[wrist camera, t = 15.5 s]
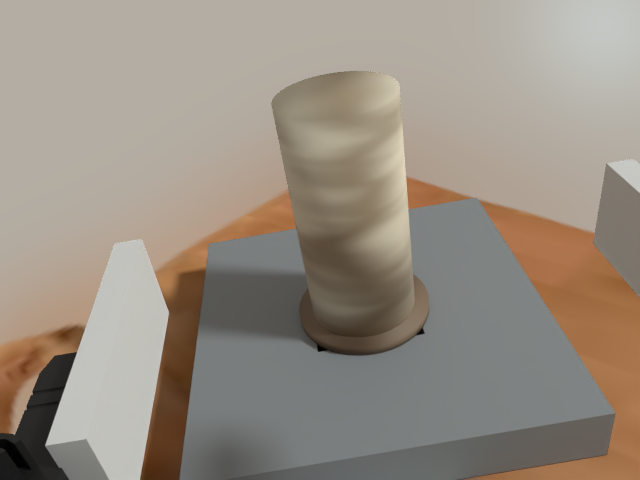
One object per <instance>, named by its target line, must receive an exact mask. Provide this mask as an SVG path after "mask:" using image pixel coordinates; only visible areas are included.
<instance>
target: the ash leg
mask: <svg viewBox="0 0 640 480" xmlns="http://www.w3.org/2000/svg"><path fill="white" fill-rule="evenodd" d="M272 109H273V114H274V119H275V124H276V129H277V134H278V139H279V144H280V149H281V154H282V159H283V164H284V169H285V173H286V179H287V184H288V189H289V194H290V199H291V204H292V209H293V214H294V219H295V224H296V229H297V234H298V239H299V244H300V249H301V254H302V259H303V264H304V269H305V274H306V279H307V284H308V288H307V290H306V291H305V293H304V294H303V296H302V299H301V301H300V306H299V313H300V318H301V323H302V326H303V329H304V331H305V333H306V334H307V336H308V337H309V338H310V339H311V340H312V341H313V342H315V343H316V344H317V345H319V346H321V347H322V348H324V349H327V350H329V351H331V352H335V353H338V354H344V355H353V356H366V355H374V354H379V353H383V352H387V351H390V350H393V349H395V348H397V347H400V346H401V345H403V344H405V343H407V342H408V341H410V340H411V339H412V338H414V337H415V336H416V335H417V334H418V333H419V332H420V330H421V329H422V328H423V327H424V325H425V323H426V321H427V318H428V315H429V296H428V292H427V289H426V287H425V285H424V284H423V283H422V281H421V280H420V279H419V278H418V277H417V276H415V275H414V274H413V268H412V254H411V240H410V226H409V212H408V198H407V184H406V170H405V156H404V142H403V129H402V114H401V102H400V87H399V83H398V82H397V81H396V80H395V79H394V78H392V77H390V76H388V75H385V74H381V73H376V72H367V71H350V72H349V71H348V72H337V73H331V74H325V75H320V76H316V77H312V78H308V79H305V80H302V81H300V82H297V83H295V84H292V85H290V86H288V87H286V88H285V89H283V90H282V91H280V92H279V93H278V94H277V95H276V96H275V97H274V98H273V100H272Z"/></svg>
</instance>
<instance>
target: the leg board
mask: <svg viewBox="0 0 640 480" xmlns="http://www.w3.org/2000/svg"><path fill="white" fill-rule="evenodd" d="M408 212H409V226H410V240H411V254H412V268H413V274H414V275H415V276H417V277H418V278H419V279H420V280H421V281H422V283H423V284H424V285H425V287H426V289H427V292H428V296H429V315H428V318H427V321H426V323H425V325H424V327H423V328H422V329H421V330H420V332H419V333H418V334H417V335H416V336H415V337H414V338H412V339H411V340H410V341H408V342H407V343H405V344H403V345H401V346H400V347H397V348H395V349H393V350H390V351H387V352H383V353H379V354H374V355H366V356H353V355H344V354H338V353H335V352H331V351H329V350H327V351H320V346H319V345H317V344H316V343H315V342H313V341H312V340H311V339H310V338H309V337H308V336H307V334H306V333H305V331H304V329H303V326H302V323H301V318H300V313H299V306H300V301H301V299H302V296H303V294H304V293H305V291H306V290H307V288H308V284H307V279H306V274H305V269H304V264H303V259H302V254H301V249H300V244H299V239H298V234H297V229H292V230H286V231H281V232H275V233H269V234H263V235H257V236H251V237H246V238H240V239H234V240H228V241H222V242H217V243H211V244H209V249H208V257H207V265H206V273H205V281H204V289H203V297H202V304H201V312H200V320H199V328H198V336H197V344H196V352H195V360H194V368H193V375H192V383H191V391H190V399H189V407H188V415H187V423H186V431H185V438H184V446H183V454H182V462H181V470H180V478H179V480H459V479H465V478H471V477H477V476H483V475H489V474H495V473H500V472H506V471H512V470H518V469H524V468H530V467H536V466H542V465H548V464H554V463H560V462H566V461H572V460H578V459H584V458H589V457H595V456H601V455H607V452H608V448H609V443H610V438H611V433H612V428H613V423H614V418H615V412H614V410H613V409H612V407H611V405H610V404H609V402H608V401H607V399H606V398H605V396H604V395H603V393H602V391H601V390H600V388H599V387H598V385H597V384H596V382H595V381H594V379H593V377H592V376H591V374H590V373H589V371H588V370H587V368H586V367H585V365H584V363H583V362H582V360H581V359H580V357H579V356H578V354H577V353H576V351H575V349H574V348H573V346H572V345H571V343H570V342H569V340H568V339H567V337H566V335H565V334H564V332H563V331H562V329H561V328H560V326H559V325H558V323H557V322H556V320H555V318H554V317H553V315H552V314H551V312H550V311H549V309H548V308H547V306H546V304H545V303H544V301H543V300H542V298H541V297H540V295H539V294H538V292H537V290H536V289H535V287H534V286H533V284H532V283H531V281H530V280H529V278H528V276H527V275H526V273H525V272H524V270H523V269H522V267H521V266H520V264H519V262H518V261H517V259H516V258H515V256H514V255H513V253H512V252H511V250H510V248H509V247H508V245H507V244H506V242H505V241H504V239H503V238H502V236H501V234H500V233H499V231H498V230H497V228H496V227H495V225H494V224H493V222H492V220H491V219H490V217H489V216H488V214H487V213H486V211H485V210H484V208H483V206H482V205H481V203H480V202H479V200H478V199H477V198H473V199H467V200H461V201H455V202H449V203H444V204H438V205H432V206H426V207H420V208H415V209H409V210H408Z"/></svg>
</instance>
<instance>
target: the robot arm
mask: <svg viewBox="0 0 640 480" xmlns="http://www.w3.org/2000/svg"><path fill="white" fill-rule="evenodd" d="M593 244H594V245H595V246H596V247H597V248H598V250H599V251H600V252H601V253H602V254H603V255H604V257H605V258H606V259H607V260H608V261H609V262H610V264H611V265H612V266H613V267H614V268H615V269H616V270H617V272H618V273H619V274H620V275H621V276H622V277H623V279H624V280H625V281H626V282H627V283H628V284H629V286H630V287H631V288H632V289H633V290H634V291H635V293H636V294H637V295H638V296H639V297H640V164H639V163H638V162H636V161H635V160H634V159H629V160H623V161H618V162H612V163H607V164H606V169H605V175H604V181H603V187H602V193H601V199H600V205H599V211H598V218H597V224H596V229H595V235H594V241H593ZM168 317H169V311H168V309H167V306H166V303H165V300H164V298H163V295H162V292H161V290H160V287H159V284H158V281H157V279H156V276H155V273H154V271H153V268H152V265H151V263H150V260H149V257H148V254H147V252H146V249H145V246H144V243H143V241H142V239H139V240H133V241H127V242H121V243H115V244H114V247H113V250H112V253H111V256H110V258H109V261H108V264H107V267H106V270H105V273H104V276H103V279H102V282H101V285H100V287H99V290H98V293H97V296H96V299H95V302H94V305H93V308H92V311H91V314H90V317H89V320H88V322H87V325H86V328H85V331H84V334H83V337H82V340H81V343H80V346H79V349H78V351H77V352H75V353H69V354H63V355H57V356H54V357H53V359H52V360H51V361H50V362H49V363H48V364H47V366H46V367H45V368H44V369H43V370H42V371H41V373H40V374H39V377H38V379H37V382H36V384H35V387H34V389H33V395H31V397H30V399H29V402H28V404H27V410H25V412H24V414H23V417H22V419H21V422H20V424H19V427H18V429H17V432H16V434H15V435H13V434H5V433H0V480H140V476H141V470H142V465H143V459H144V453H145V448H146V442H147V436H148V431H149V425H150V419H151V413H152V408H153V402H154V396H155V391H156V385H157V379H158V374H159V368H160V362H161V356H162V351H163V345H164V339H165V334H166V328H167V322H168Z"/></svg>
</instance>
